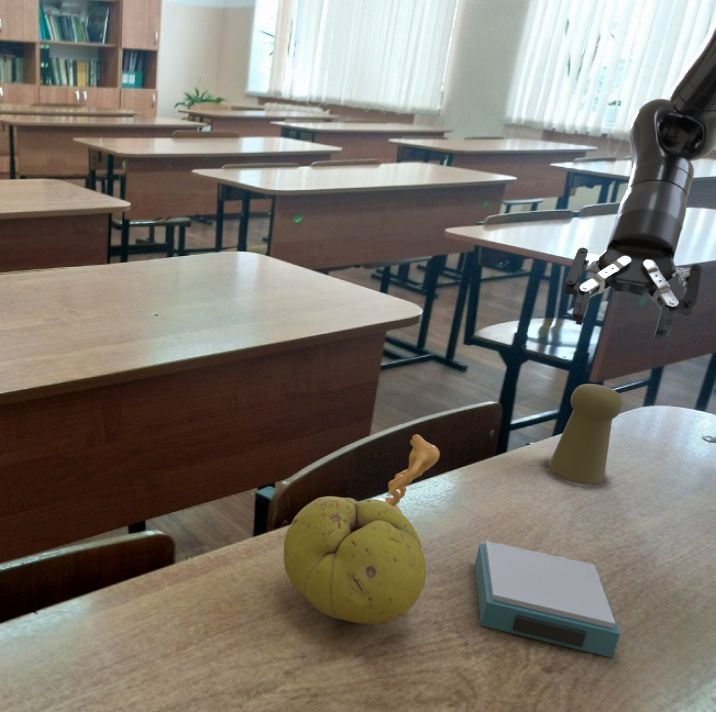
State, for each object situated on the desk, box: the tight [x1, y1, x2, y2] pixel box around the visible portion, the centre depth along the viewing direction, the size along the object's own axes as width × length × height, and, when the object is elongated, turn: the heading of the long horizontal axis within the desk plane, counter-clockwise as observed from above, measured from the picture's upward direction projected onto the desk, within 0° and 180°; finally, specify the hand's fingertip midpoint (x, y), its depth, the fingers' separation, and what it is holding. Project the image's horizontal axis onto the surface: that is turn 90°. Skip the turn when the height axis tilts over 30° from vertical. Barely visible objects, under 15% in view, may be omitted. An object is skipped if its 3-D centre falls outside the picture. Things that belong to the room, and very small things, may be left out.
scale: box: [474, 540, 621, 659], centre depth 64 cm, size 10×9×3 cm
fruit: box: [283, 495, 427, 625], centre depth 62 cm, size 11×12×10 cm
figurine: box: [376, 434, 441, 514], centre depth 71 cm, size 8×6×12 cm
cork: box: [548, 383, 623, 485], centre depth 87 cm, size 6×6×11 cm
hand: (617, 329), depth 90 cm, fingers open, 8 cm apart
